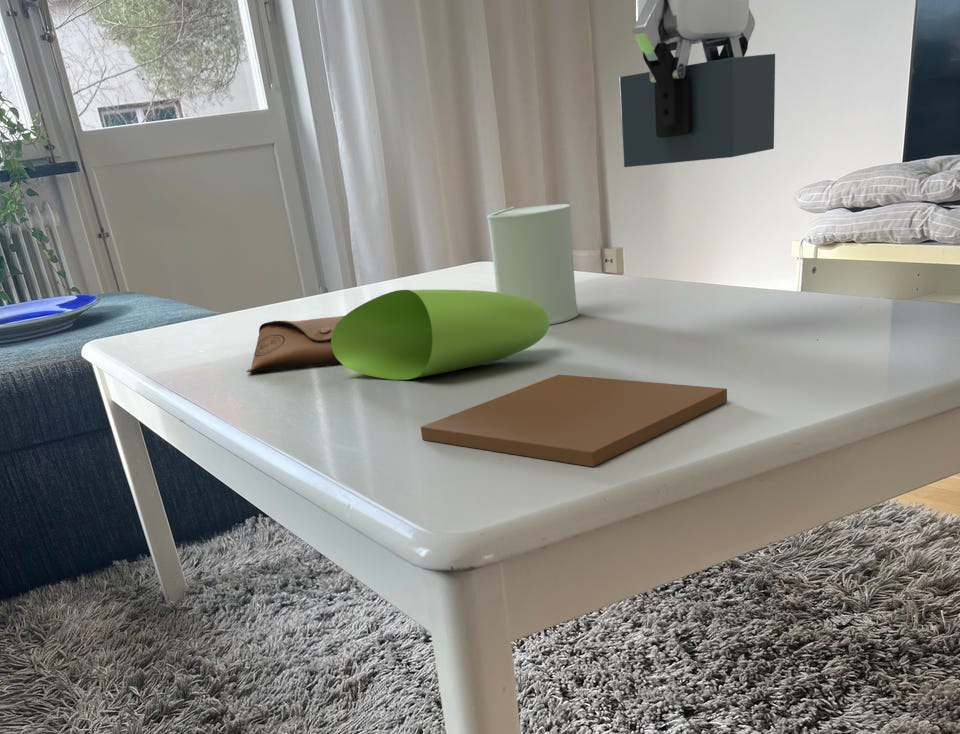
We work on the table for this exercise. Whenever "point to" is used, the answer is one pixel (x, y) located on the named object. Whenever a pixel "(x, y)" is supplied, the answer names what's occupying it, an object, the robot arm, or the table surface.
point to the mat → (575, 418)
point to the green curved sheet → (435, 332)
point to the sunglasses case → (295, 344)
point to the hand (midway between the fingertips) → (698, 129)
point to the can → (535, 257)
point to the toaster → (704, 113)
